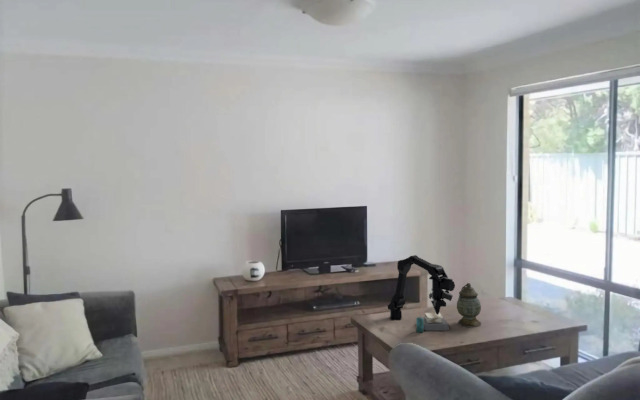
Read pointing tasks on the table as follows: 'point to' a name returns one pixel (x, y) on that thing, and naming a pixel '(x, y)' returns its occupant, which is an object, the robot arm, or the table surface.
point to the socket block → (435, 325)
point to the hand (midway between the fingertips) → (437, 314)
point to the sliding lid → (433, 318)
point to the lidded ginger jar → (468, 306)
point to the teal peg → (419, 325)
